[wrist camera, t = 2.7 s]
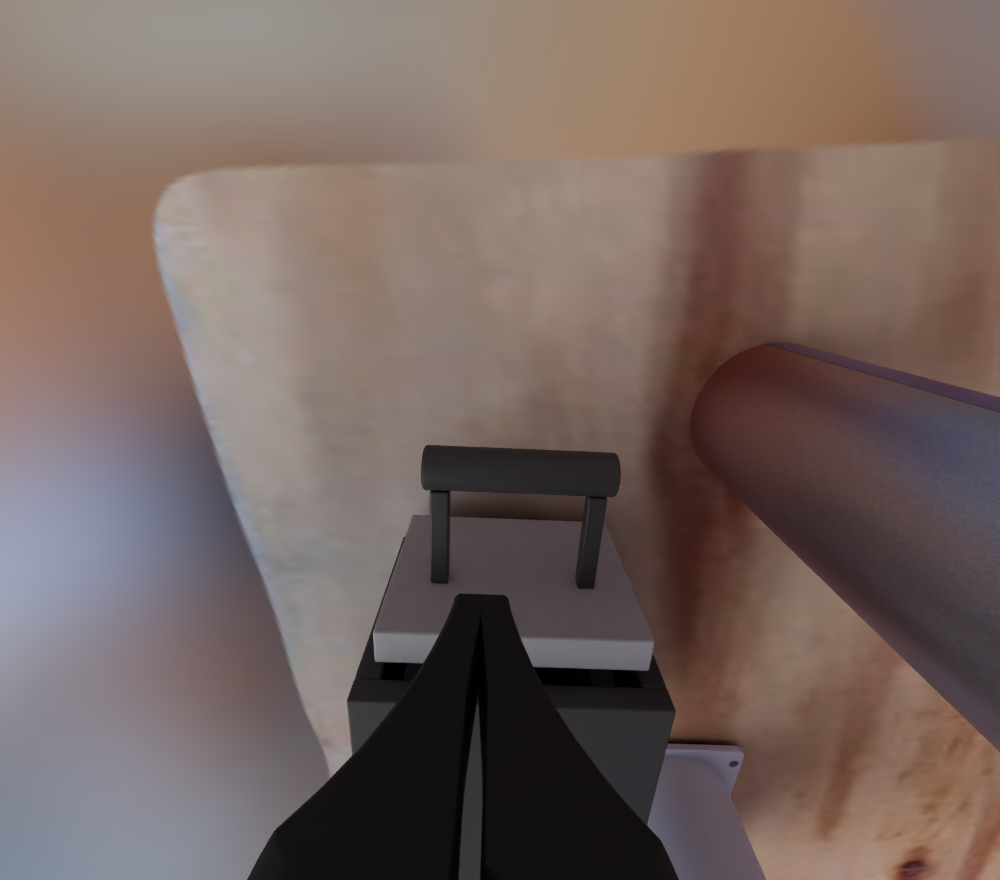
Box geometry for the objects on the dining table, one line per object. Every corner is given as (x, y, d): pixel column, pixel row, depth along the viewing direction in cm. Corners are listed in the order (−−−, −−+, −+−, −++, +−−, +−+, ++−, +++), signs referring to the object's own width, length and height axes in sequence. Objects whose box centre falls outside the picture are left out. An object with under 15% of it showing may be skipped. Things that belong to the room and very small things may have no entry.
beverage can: (834, 326, 18) (2044, 548, 4) (824, 464, 20) (1589, 931, 6) (680, 354, 18) (1280, 648, 4) (686, 486, 20) (1102, 976, 6)
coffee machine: (403, 535, 21) (346, 701, 13) (609, 543, 21) (676, 711, 13) (409, 716, 25) (368, 925, 17) (582, 721, 26) (621, 930, 18)
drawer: (409, 405, 18) (362, 481, 12) (622, 414, 18) (687, 494, 12) (416, 693, 24) (386, 851, 17) (580, 698, 24) (609, 857, 17)
